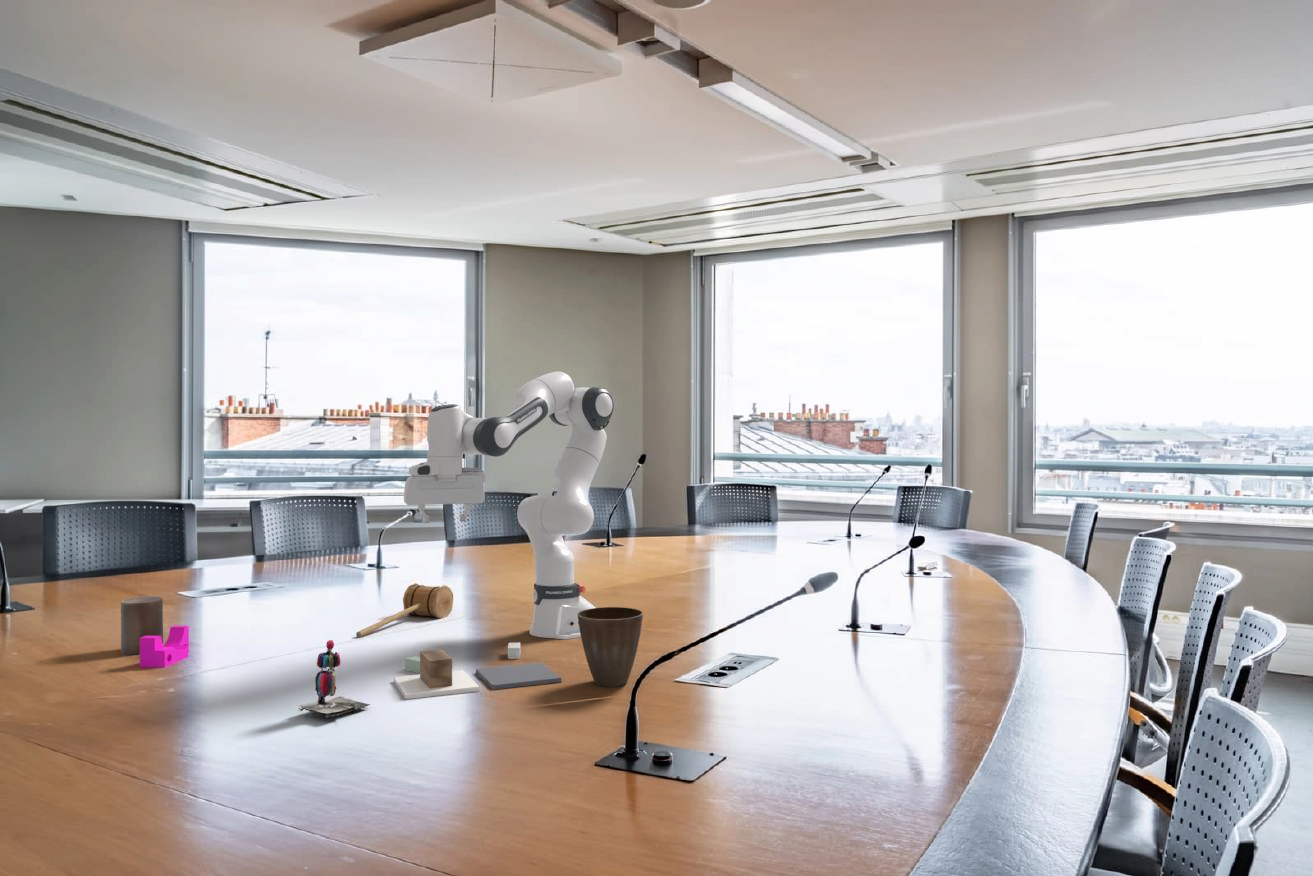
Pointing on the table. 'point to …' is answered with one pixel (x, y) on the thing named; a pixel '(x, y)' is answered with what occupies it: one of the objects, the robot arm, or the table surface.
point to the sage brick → (412, 664)
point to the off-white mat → (418, 689)
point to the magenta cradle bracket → (165, 648)
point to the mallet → (420, 604)
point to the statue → (330, 688)
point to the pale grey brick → (514, 651)
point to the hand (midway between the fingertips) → (444, 522)
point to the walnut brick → (436, 668)
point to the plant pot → (610, 642)
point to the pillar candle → (140, 622)
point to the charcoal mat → (517, 675)
